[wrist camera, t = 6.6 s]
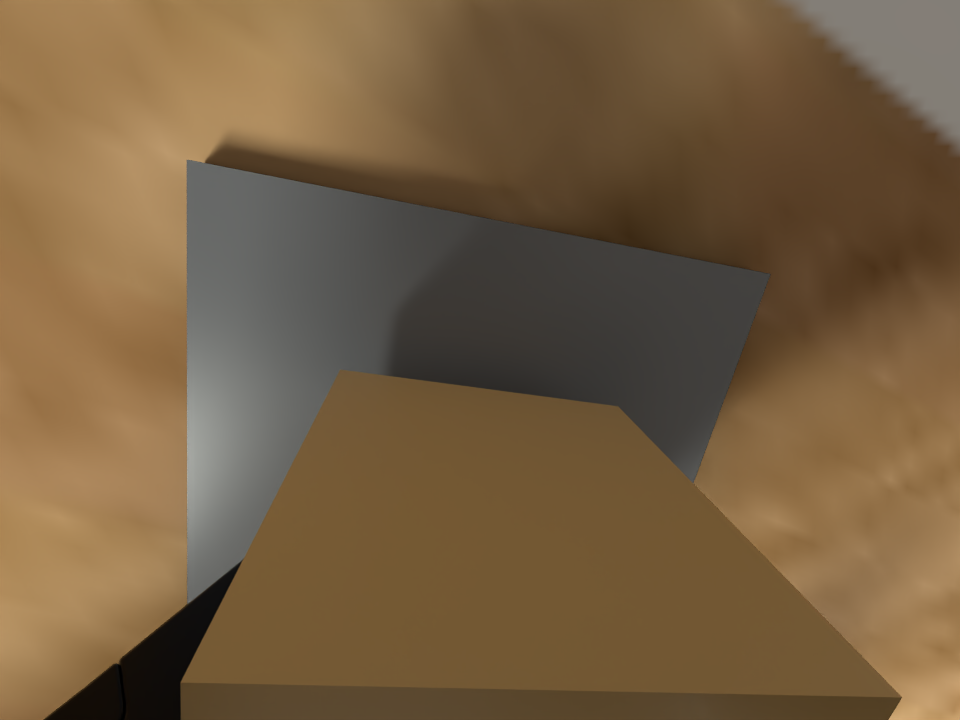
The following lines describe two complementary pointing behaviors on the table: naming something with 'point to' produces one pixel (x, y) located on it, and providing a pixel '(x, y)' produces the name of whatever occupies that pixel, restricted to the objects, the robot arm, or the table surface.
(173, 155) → the table surface
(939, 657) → the table surface
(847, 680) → the tan wooden cube
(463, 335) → the plate
